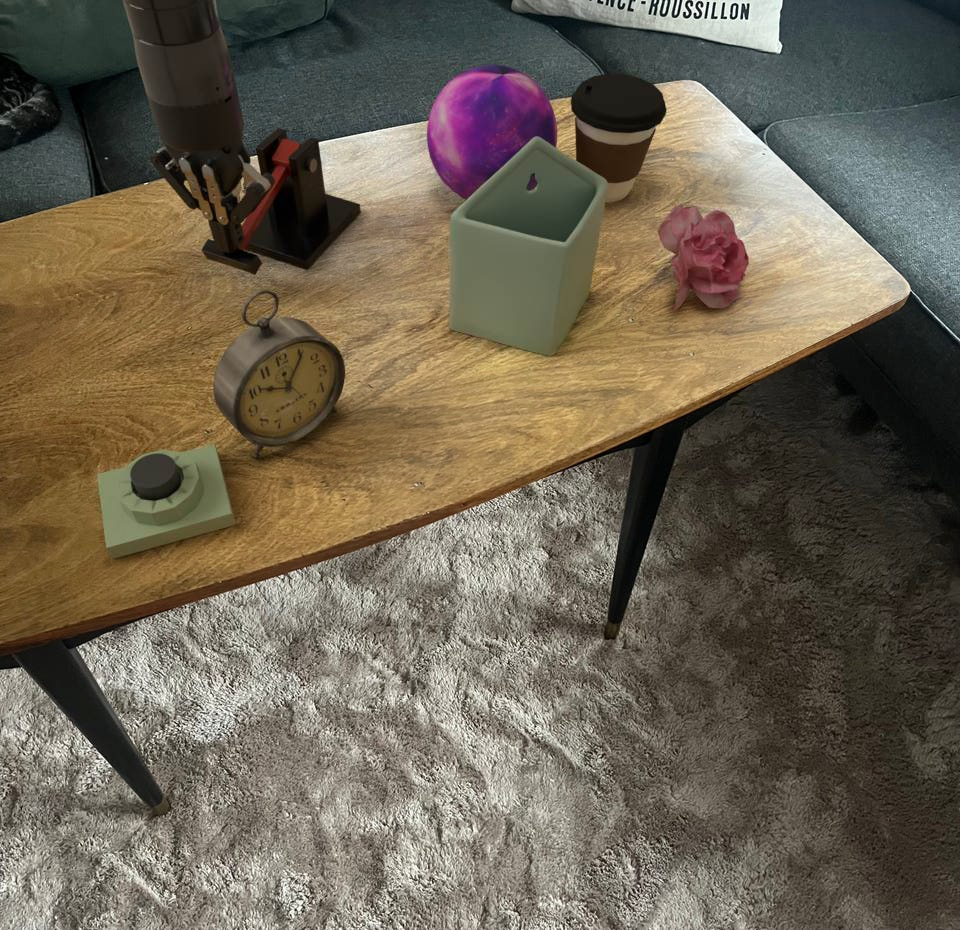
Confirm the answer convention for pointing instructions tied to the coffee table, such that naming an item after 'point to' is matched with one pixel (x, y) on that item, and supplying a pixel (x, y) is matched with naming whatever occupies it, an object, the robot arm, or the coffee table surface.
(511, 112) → the decorative orb
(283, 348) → the alarm clock
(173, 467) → the call button
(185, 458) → the call button base
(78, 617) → the coffee table surface
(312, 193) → the lever stand
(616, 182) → the coffee cup
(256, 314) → the coffee table surface
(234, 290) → the coffee table surface
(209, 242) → the red lever
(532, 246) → the planter
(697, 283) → the flower
